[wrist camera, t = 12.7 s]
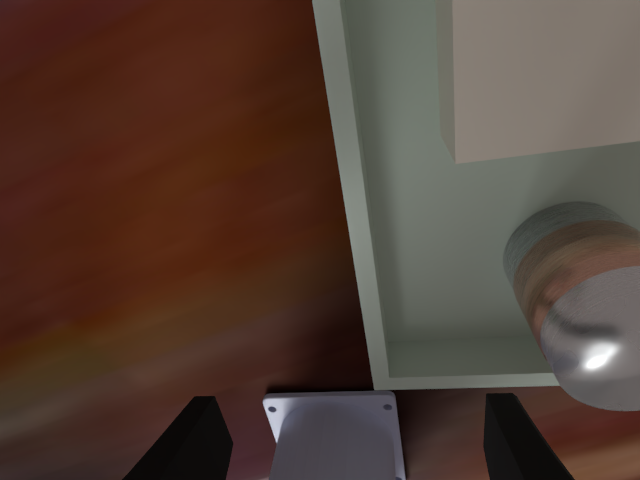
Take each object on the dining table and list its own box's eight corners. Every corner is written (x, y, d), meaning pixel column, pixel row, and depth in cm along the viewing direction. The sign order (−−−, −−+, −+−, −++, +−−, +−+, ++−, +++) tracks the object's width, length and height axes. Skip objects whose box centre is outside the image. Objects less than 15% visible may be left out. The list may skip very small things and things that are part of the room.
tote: (753, 328, 19) (813, 379, 16) (374, 346, 22) (374, 390, 20) (1010, -291, 10) (1236, -398, 7) (307, -107, 13) (290, -136, 11)
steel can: (620, 297, 18) (715, 410, 13) (499, 305, 19) (545, 412, 14) (641, 193, 16) (768, 281, 11) (503, 207, 17) (559, 294, 12)
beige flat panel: (742, 92, 14) (843, 115, 11) (440, 134, 16) (455, 164, 13) (809, -135, 11) (970, -188, 8) (433, -51, 13) (450, -70, 10)
